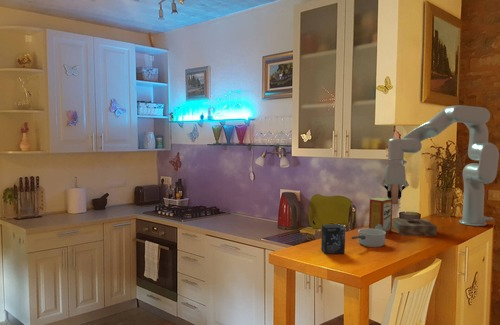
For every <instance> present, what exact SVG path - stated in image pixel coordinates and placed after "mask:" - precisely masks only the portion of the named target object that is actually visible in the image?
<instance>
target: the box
mask: <svg viewBox="0 0 500 325" xmlns="http://www.w3.org/2000/svg"><path fill="white" fill-rule="evenodd" d="M345 248H346V227H345V226H344V225H342V224H341V223H339V224H322V225H321V248H320V250H321V252H322V253H324V254H325V255H337V254H339V255H341V254H342V255H344V254H345V252H346V251H345Z"/></svg>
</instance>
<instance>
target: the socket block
mask: <svg viewBox="0 0 500 325" xmlns="http://www.w3.org/2000/svg"><path fill="white" fill-rule="evenodd" d="M392 228H393V230H395V231H396V232H397V234H399V235H400V236H416V235H417V236H418V237H419V236H420V237H424V236H425V237H438V226H437V225H435V224H434V223H432V222H431V221H429V219H426V218H396V217H395V218H393V217H392Z"/></svg>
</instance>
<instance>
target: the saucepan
mask: <svg viewBox="0 0 500 325" xmlns="http://www.w3.org/2000/svg"><path fill="white" fill-rule="evenodd" d="M357 232H358V235H356V236H351V240H356V239H358V244H359V243H360V244H361V245H362V246H364V247H370V248H379V247H383V246H384V245H385V244H386V234H387V233H386V232H385V231H382V230H378V229H369V228H361V229H358V230H357Z"/></svg>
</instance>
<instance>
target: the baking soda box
mask: <svg viewBox="0 0 500 325" xmlns="http://www.w3.org/2000/svg"><path fill="white" fill-rule="evenodd" d="M387 220H390V221H391V223H390V225H389V227H388V229H385V232H386V234H388V233H390V232H392V228H393V227H392V224H393V204H392V199H389V198H388V197H387V198H386V197H374V198H373V197H372V198H370V199H369V218H368V221H369V223H368V229H375V226H377V225H378V224H380V225H382V227H384V225H385V223H386V221H387Z"/></svg>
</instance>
